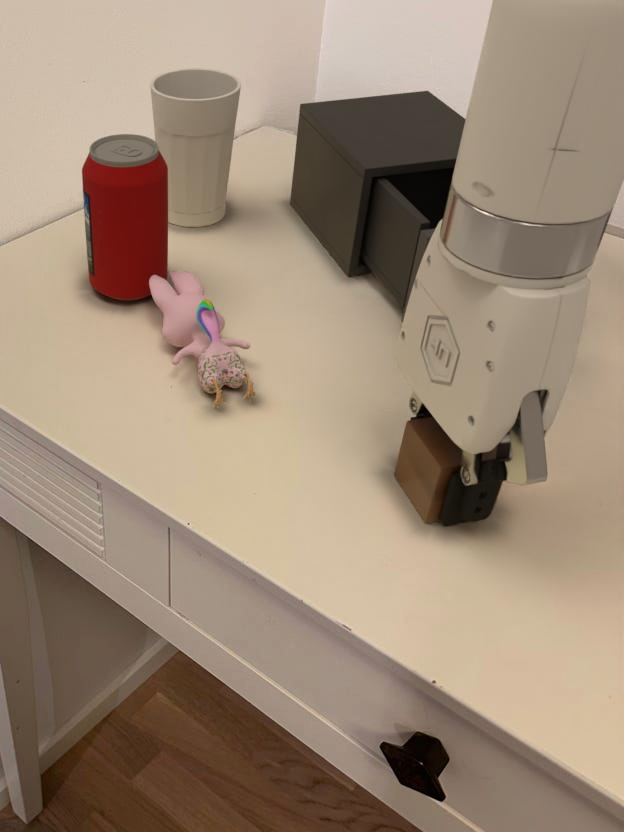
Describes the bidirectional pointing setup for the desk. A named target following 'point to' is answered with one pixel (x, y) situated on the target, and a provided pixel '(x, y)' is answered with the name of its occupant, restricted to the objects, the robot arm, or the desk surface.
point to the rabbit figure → (199, 333)
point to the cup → (195, 140)
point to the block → (429, 465)
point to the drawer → (402, 226)
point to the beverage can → (125, 215)
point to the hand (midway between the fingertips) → (443, 488)
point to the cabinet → (364, 160)
